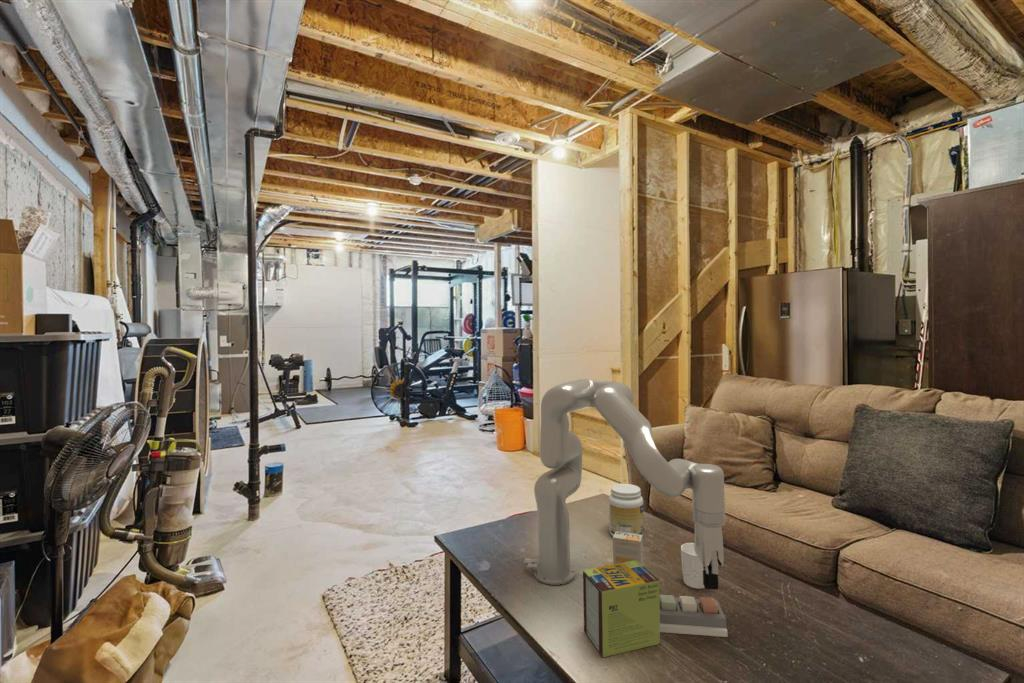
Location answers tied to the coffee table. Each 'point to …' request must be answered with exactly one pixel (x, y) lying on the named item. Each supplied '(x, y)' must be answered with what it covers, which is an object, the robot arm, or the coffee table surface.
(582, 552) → the coffee table surface
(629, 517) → the supplement tub
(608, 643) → the protein box
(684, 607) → the key
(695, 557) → the white cup
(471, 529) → the coffee table surface
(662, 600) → the key
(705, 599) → the key
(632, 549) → the supplement box
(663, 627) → the keypad
